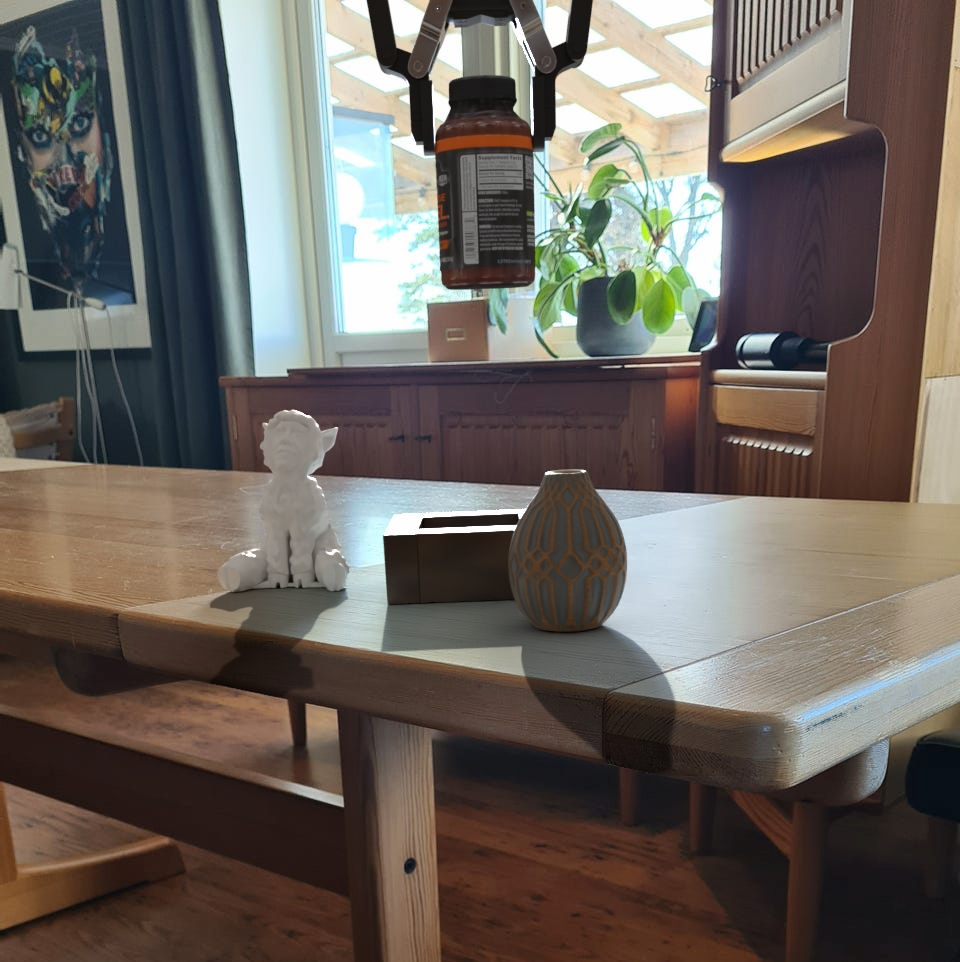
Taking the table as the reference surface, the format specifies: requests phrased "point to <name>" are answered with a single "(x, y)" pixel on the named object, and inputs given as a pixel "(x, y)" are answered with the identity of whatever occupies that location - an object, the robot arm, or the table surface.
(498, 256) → the supplement bottle
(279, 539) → the seated beast figurine
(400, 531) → the holder
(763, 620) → the table surface
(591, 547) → the vase
